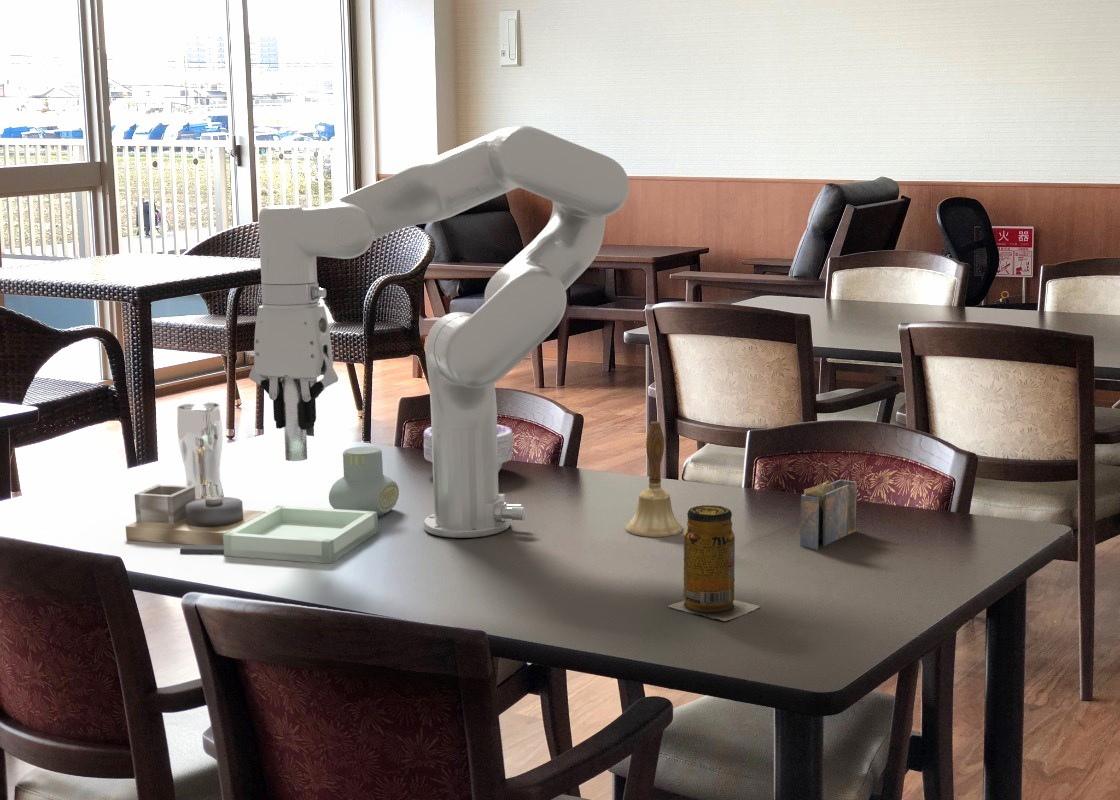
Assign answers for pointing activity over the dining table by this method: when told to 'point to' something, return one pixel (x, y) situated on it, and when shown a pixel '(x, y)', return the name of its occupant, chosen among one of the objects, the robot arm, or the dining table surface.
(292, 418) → the capped tube
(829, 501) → the grey split block
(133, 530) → the wooden base with holder
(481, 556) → the dining table surface
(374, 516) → the tray
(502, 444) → the paper bowls
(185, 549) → the dark grey bar
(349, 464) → the air freshener
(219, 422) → the beer glass
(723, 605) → the condiment
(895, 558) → the dining table surface
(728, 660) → the dining table surface
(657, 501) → the hand bell
